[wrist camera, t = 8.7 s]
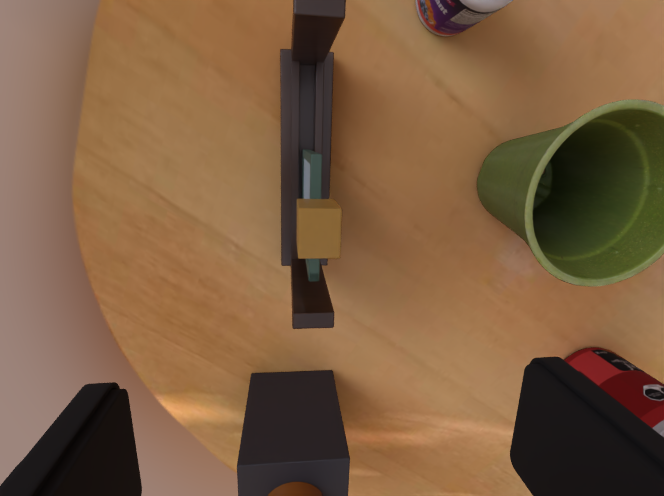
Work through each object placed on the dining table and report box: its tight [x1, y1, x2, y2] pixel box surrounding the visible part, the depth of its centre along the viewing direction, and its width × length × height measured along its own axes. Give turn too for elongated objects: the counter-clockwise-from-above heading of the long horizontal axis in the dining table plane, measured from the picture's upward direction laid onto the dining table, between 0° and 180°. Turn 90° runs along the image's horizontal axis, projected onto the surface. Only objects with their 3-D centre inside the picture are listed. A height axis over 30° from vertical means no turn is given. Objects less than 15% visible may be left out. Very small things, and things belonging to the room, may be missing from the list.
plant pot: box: [477, 100, 664, 286], centre depth 29 cm, size 12×12×11 cm
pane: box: [297, 149, 342, 281], centre depth 24 cm, size 2×7×14 cm, turn 178°
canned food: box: [564, 347, 664, 437], centre depth 36 cm, size 8×8×11 cm
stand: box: [237, 370, 350, 496], centre depth 33 cm, size 8×8×11 cm
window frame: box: [280, 0, 346, 329], centre depth 26 cm, size 4×17×13 cm, turn 178°
